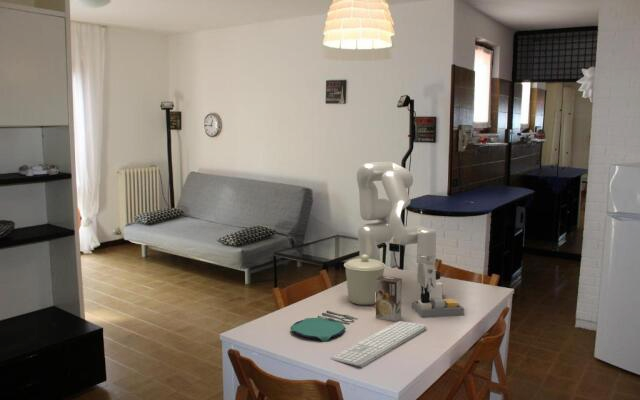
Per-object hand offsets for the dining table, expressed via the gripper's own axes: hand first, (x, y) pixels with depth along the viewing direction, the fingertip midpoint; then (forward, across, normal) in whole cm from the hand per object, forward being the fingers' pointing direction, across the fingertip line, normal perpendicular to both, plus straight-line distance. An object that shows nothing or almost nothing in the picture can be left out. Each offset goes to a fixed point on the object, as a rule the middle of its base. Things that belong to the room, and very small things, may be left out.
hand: (425, 302), depth 229 cm
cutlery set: (+5, -10, +43) cm, 45 cm away
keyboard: (+5, -29, +26) cm, 39 cm away
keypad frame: (+4, 0, -5) cm, 7 cm away
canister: (+4, +17, +22) cm, 28 cm away
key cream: (+3, 0, 0) cm, 3 cm away
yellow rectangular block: (+3, 0, -11) cm, 11 cm away
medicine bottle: (+4, +19, -10) cm, 22 cm away
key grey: (+2, 0, -5) cm, 6 cm away
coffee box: (+4, -4, +17) cm, 18 cm away
